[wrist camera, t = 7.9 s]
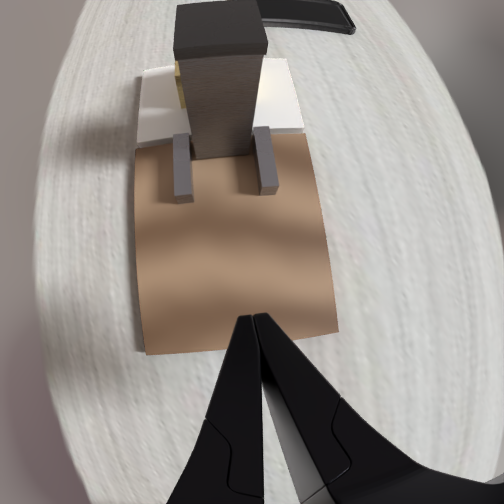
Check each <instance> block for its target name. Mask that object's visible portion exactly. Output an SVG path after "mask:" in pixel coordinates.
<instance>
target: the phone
mask: <svg viewBox="0 0 504 504" xmlns="http://www.w3.org/2000/svg"><path fill="white" fill-rule="evenodd" d="M256 1H257V5H258V8H259V11H260V15H261V18H262V22H263V25H264V27H285V28H299V29H310V30H320V31H328V32H335V33H342V34H348V35H353V34H354V33H355V30H356V27H355V25H354V23H353V21H352V20H351V18H350V16H349V15H348V13H347V11H346V9H345V8H344V6H343V5H342V4H341V3H339V2H336V1H332V0H256Z"/></svg>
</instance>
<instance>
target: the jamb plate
mask: <svg viewBox="0 0 504 504" xmlns="http://www.w3.org/2000/svg"><path fill="white" fill-rule="evenodd" d="M174 75H175V65H171V66H165V67H159V68H153V69H147V70H143V77H142V85H141V94H140V104H139V116H138V129H137V144H138V146H139V148H144V147H150V146H156V145H163V144H170V143H173V134H181V133H189V136H190V140H191V141H193V139H192V134H191V129H190V124H189V119H188V114H187V109H186V108H182V109H181V105H180V100H179V96H178V91H177V86H176V81H175V76H174ZM259 126H269V129H270V134H298V133H303V130H304V128H305V127H304V123H303V119H302V115H301V111H300V107H299V103H298V99H297V96H296V92H295V88H294V84H293V81H292V77H291V74H290V70H289V67H288V63H287V60H286V59H279V58H263V62H262V68H261V75H260V81H259V88H258V95H257V101H256V108H255V115H254V121H253V127H259ZM252 132H253V128H252Z"/></svg>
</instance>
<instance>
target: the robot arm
mask: <svg viewBox="0 0 504 504" xmlns="http://www.w3.org/2000/svg"><path fill="white" fill-rule="evenodd" d="M262 387H263V391H264V394H265V397H266V401H267V404H268V407H269V410H270V413H271V417H272V420H273V423H274V426H275V429H276V432H277V435H278V439H279V442H280V445H281V448H282V451H283V454H284V457H285V460H286V463H287V466H288V469H289V472H290V475H291V478H292V481H293V484H294V487H295V490H296V493H297V496H298V499H299V502H300V504H504V473H503V474H502V475H500V476H498V477H496V478H494V479H492V480H490V481H488V482H485V483H482V482H477V481H473V480H469V479H465V478H461V477H457V476H453V475H449V474H446V473H442V472H439V471H436V470H432V469H429V468H427V467H425V466H423V465H421V464H419V463H417V462H416V461H414V460H413V459H411V458H410V457H408V456H407V455H406V454H405V453H403V452H402V451H401V450H400V449H398V448H397V447H396V446H395V445H393V444H392V443H391V442H390V441H388V440H387V439H386V438H385V437H383V436H382V435H381V434H380V433H378V432H377V431H376V430H375V429H374V428H373V427H372V426H370V425H369V424H368V423H367V422H366V421H365V420H364V419H363V418H362V417H361V416H360V415H359V414H358V413H357V412H356V411H355V410H354V409H353V408H352V407H351V406H350V405H349V404H348V403H347V402H346V401H345V399H344V398H343V397H341V395H340V394H339V393H338V392H337V391H336V390H335V389H334V387H333V386H332V385H331V384H330V383H329V382H328V381H327V380H326V378H325V377H324V376H323V375H322V374H321V373H320V372H319V371H318V369H317V368H316V367H315V366H314V365H313V364H312V363H311V362H310V360H309V359H308V358H307V357H306V356H305V355H304V354H303V353H302V351H301V350H300V349H299V348H298V347H297V346H296V345H295V343H294V342H293V341H292V340H291V339H290V338H289V336H288V335H287V334H286V333H285V332H284V331H283V330H282V328H281V327H280V326H279V325H278V324H277V323H276V321H275V320H274V319H273V318H272V317H271V316H270V314H269V313H267V312H264V313H256V314H254V315H253V316H252V315H251V314H248V315H240V316H238V317H237V320H236V323H235V326H234V329H233V332H232V335H231V339H230V342H229V345H228V348H227V351H226V354H225V357H224V360H223V363H222V366H221V370H220V373H219V376H218V379H217V382H216V385H215V388H214V391H213V394H212V397H211V400H210V403H209V406H208V410H207V413H206V416H205V418H206V419H205V420H204V421H203V424H202V427H201V430H200V433H199V436H198V439H197V441H196V444H195V447H194V449H193V451H192V454H191V456H190V458H189V460H188V462H187V465H186V467H185V469H184V471H183V473H182V474H181V476H180V478H179V480H178V482H177V484H176V486H175V488H174V490H173V492H172V494H171V496H170V497H169V499H168V501H167V503H166V504H264V467H263V421H262ZM340 397H341V398H340Z"/></svg>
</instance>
